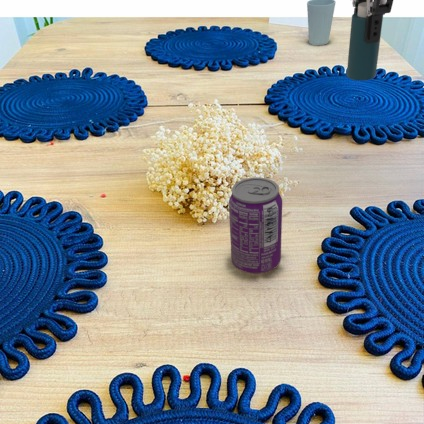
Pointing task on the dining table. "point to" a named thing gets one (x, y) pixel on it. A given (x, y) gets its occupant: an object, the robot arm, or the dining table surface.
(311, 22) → the cup
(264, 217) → the beverage can
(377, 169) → the dining table surface
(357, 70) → the bottle
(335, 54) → the dining table surface
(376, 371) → the dining table surface
